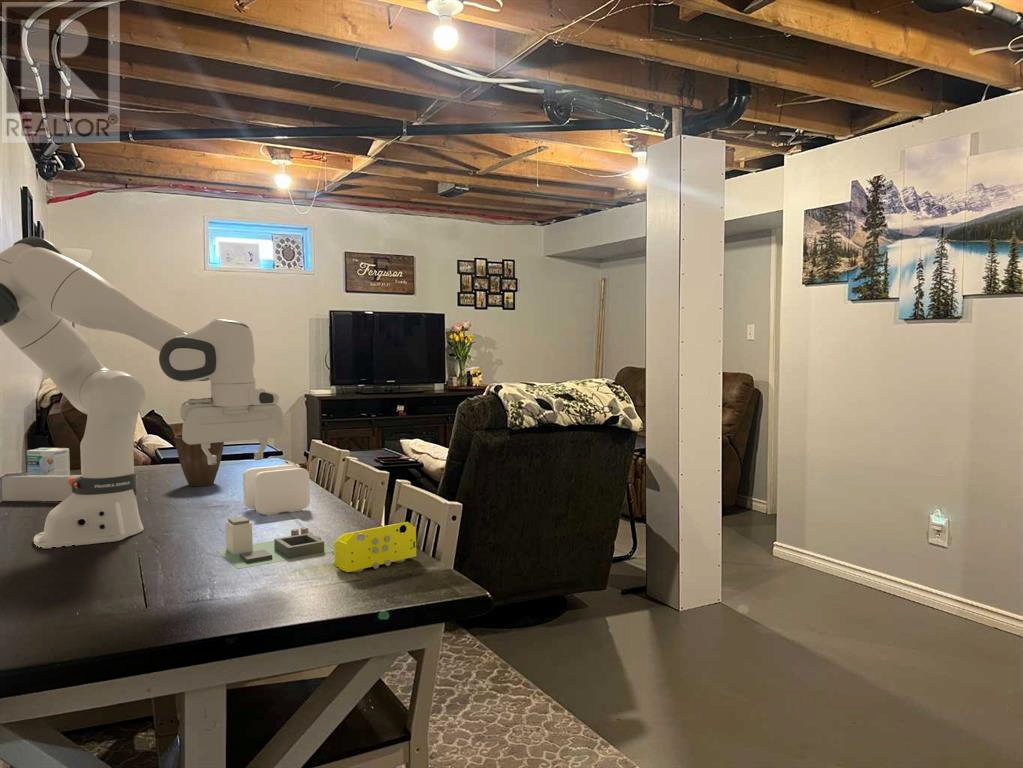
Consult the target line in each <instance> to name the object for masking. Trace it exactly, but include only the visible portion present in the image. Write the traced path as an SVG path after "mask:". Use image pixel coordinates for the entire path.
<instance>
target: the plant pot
mask: <svg viewBox="0 0 1023 768" xmlns="http://www.w3.org/2000/svg"><path fill="white" fill-rule="evenodd" d="M174 441H175V442H174V443H175V447H176V452H177V456H178V460H179V463H180V467H181V469H182V472H183V475H184V478H185V480H186V481H187V484H188V486H191V487H203V486H204V487H206V486H211V485H213V484H214V483H215V480H216V477H217V474H218V471H219V467H220V465H221V461H222V457H223V451H224V444H225V442H216V443H210V448H209V449H208V448H207V449H208V450H209V452H210V453H211V455H215V456H217V459H216V461H217V464H214V465H208V461H207V455H206V454H205V452H204V451H203V450H202V448H201V444H192V445H189V444H187V443H185V442H184V441H183V439H182V434H176V435H174Z"/></svg>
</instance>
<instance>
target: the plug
mask: <svg viewBox="0 0 1023 768" xmlns="http://www.w3.org/2000/svg"><path fill="white" fill-rule="evenodd" d="M225 543H226V545H225V546H226V548H225V549H227V550H228V551H229V552H231V553H232V554H239V553H245V552H251V551H253V544H254V543H253V523H252V522H251V521H250V519H248V518H247V517H246V516H237V517H229V518H228V519H227V520H225Z"/></svg>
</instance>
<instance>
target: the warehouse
mask: <svg viewBox="0 0 1023 768" xmlns="http://www.w3.org/2000/svg"><path fill="white" fill-rule="evenodd" d="M80 476H81V474H70V475H28V474H27V475H15V476H1V477H0V489H1V490H0V495H1V496H0V497H1V501H2V500H41V501H64V500H65V499H66V498H68V497H69V496H70V495H71V494H73V492H72V486H70V485H69V484H68V480H70V479H69V478H71V477H75V478H76V479H77V478H79V477H80Z"/></svg>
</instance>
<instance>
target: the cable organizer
mask: <svg viewBox="0 0 1023 768" xmlns="http://www.w3.org/2000/svg"><path fill="white" fill-rule="evenodd" d="M242 481H243V482H242V484H243V485H242V486H243V504H244V506H245V507H246V508H248V509H252V510H255V511H256V512H257V513H258V514H261V515H265V516H266V515H268V516H274V515H273V514H275V515H279V514H280V513H285V512H289V513H295V512H294V511H298V512H302V511H303V510H304V509H306V508H308V507H309V506H310V503H311V497H310V496H311V493H310V490H311V489H310V487H311V486H310V471H308V469H306V468H302V467H298V466H296V465H294V464H281V465H271V466H262V467H250V468H248V469H246V470H245V471H244V472H243V474H242ZM301 510H302V511H301Z"/></svg>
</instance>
